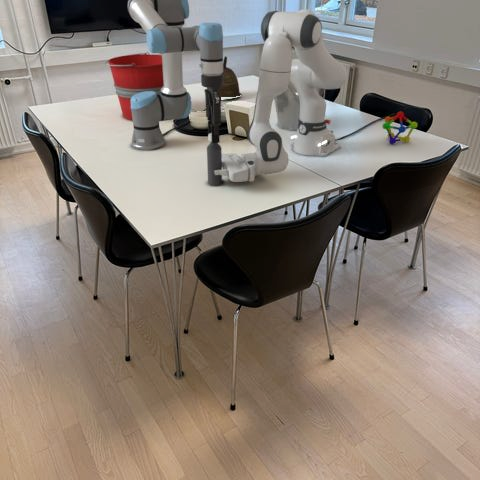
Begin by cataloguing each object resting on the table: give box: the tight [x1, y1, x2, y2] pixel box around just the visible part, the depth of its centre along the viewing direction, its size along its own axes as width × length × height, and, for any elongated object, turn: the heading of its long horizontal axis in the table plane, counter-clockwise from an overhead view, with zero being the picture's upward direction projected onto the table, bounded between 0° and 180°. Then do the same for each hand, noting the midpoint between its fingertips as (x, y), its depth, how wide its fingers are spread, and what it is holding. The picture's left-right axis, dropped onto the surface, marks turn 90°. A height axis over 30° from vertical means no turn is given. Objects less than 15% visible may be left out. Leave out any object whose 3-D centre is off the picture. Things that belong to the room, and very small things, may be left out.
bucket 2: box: [273, 81, 326, 131], centre depth 226 cm, size 30×30×28 cm
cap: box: [207, 133, 212, 142], centre depth 162 cm, size 4×4×2 cm
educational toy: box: [382, 110, 418, 145], centre depth 207 cm, size 16×13×15 cm
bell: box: [218, 56, 242, 97], centre depth 278 cm, size 19×26×20 cm
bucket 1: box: [104, 51, 164, 121], centre depth 240 cm, size 35×35×30 cm
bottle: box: [206, 141, 223, 187], centre depth 166 cm, size 5×5×19 cm
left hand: (213, 140), depth 162 cm, fingers open, 4 cm apart
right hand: (212, 168), depth 168 cm, fingers closed on bottle, 5 cm apart
